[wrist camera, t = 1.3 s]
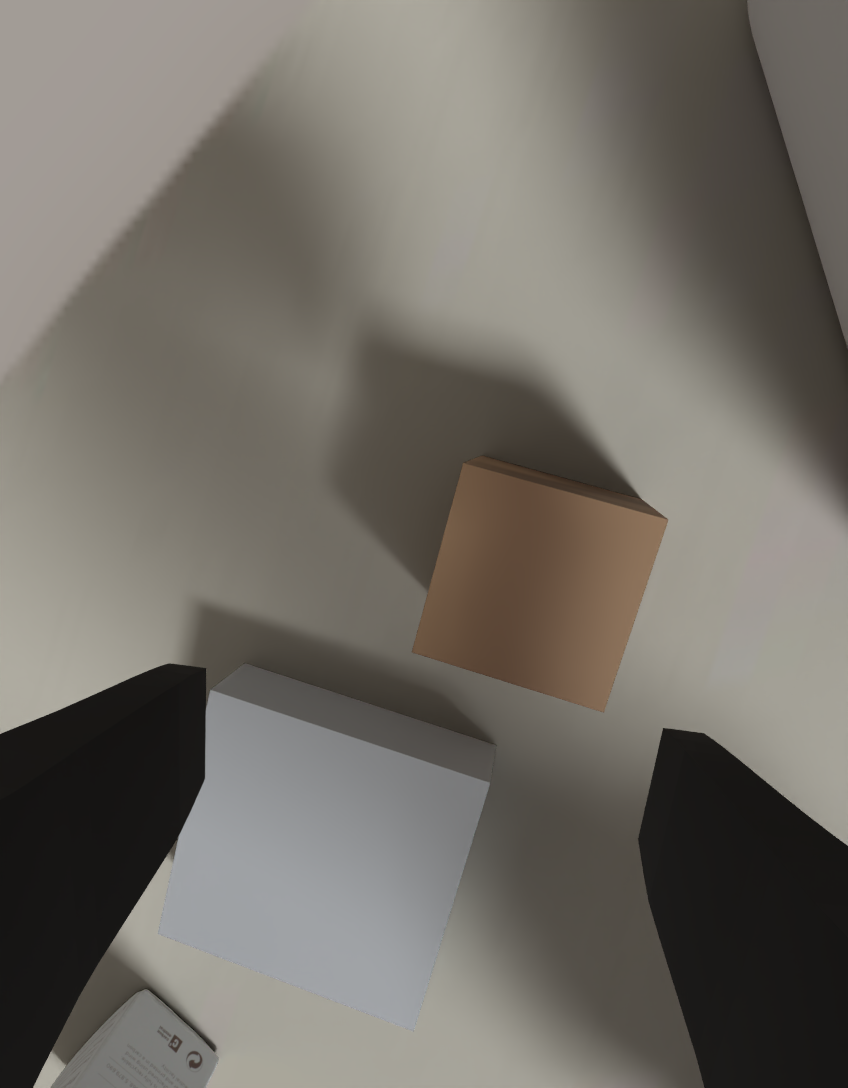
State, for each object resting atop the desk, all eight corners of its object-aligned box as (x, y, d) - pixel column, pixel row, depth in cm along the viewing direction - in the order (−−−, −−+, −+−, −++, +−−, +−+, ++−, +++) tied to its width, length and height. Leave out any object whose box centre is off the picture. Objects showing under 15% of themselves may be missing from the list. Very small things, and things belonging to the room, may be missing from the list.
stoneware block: (497, 739, 24) (490, 783, 21) (428, 962, 26) (413, 1031, 23) (249, 659, 25) (210, 689, 22) (200, 878, 27) (157, 933, 24)
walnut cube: (641, 499, 21) (668, 519, 17) (591, 650, 22) (603, 712, 18) (481, 455, 22) (463, 463, 17) (440, 604, 23) (411, 652, 18)
